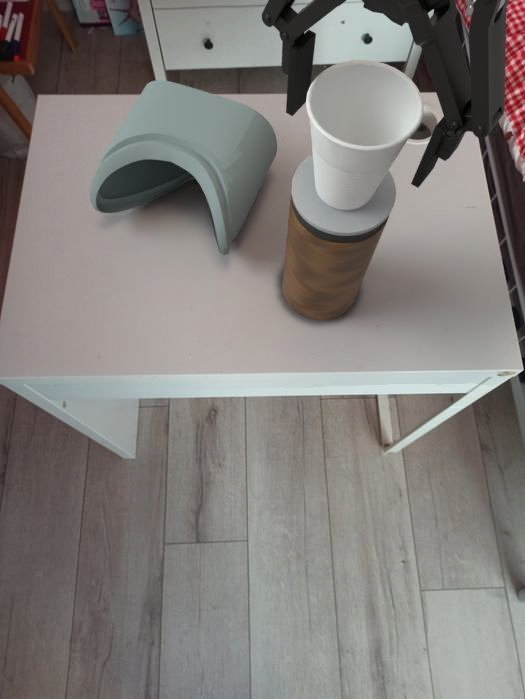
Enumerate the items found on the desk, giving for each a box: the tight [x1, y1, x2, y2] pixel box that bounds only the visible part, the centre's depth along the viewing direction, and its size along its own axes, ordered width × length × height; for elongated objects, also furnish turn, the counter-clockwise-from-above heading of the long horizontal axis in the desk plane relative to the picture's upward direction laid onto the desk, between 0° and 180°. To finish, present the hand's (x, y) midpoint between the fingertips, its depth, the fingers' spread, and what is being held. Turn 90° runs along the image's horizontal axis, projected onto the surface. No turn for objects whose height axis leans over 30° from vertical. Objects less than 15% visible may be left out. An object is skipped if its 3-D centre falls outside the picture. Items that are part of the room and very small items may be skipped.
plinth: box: [282, 192, 391, 321], centre depth 63 cm, size 11×11×20 cm
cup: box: [305, 59, 425, 210], centre depth 46 cm, size 10×10×11 cm
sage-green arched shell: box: [88, 79, 278, 256], centre depth 71 cm, size 22×19×13 cm
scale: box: [290, 153, 397, 243], centre depth 52 cm, size 11×11×2 cm
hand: (357, 140), depth 45 cm, fingers open, 13 cm apart
